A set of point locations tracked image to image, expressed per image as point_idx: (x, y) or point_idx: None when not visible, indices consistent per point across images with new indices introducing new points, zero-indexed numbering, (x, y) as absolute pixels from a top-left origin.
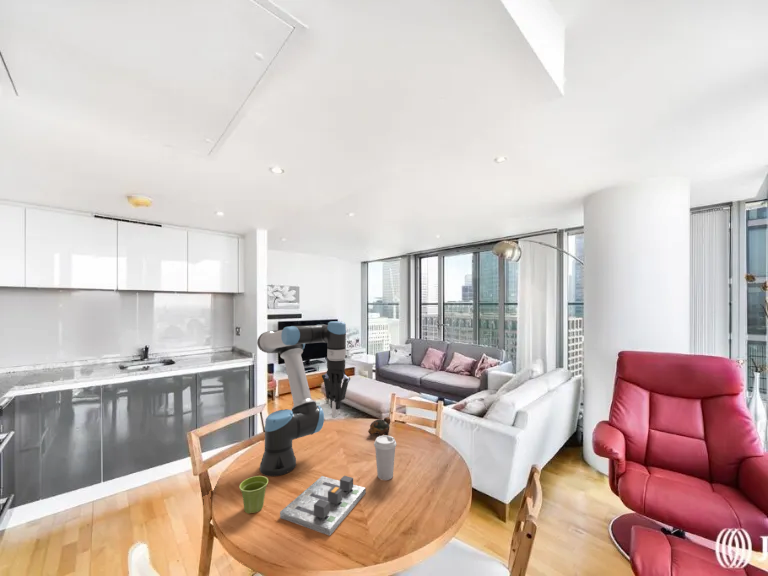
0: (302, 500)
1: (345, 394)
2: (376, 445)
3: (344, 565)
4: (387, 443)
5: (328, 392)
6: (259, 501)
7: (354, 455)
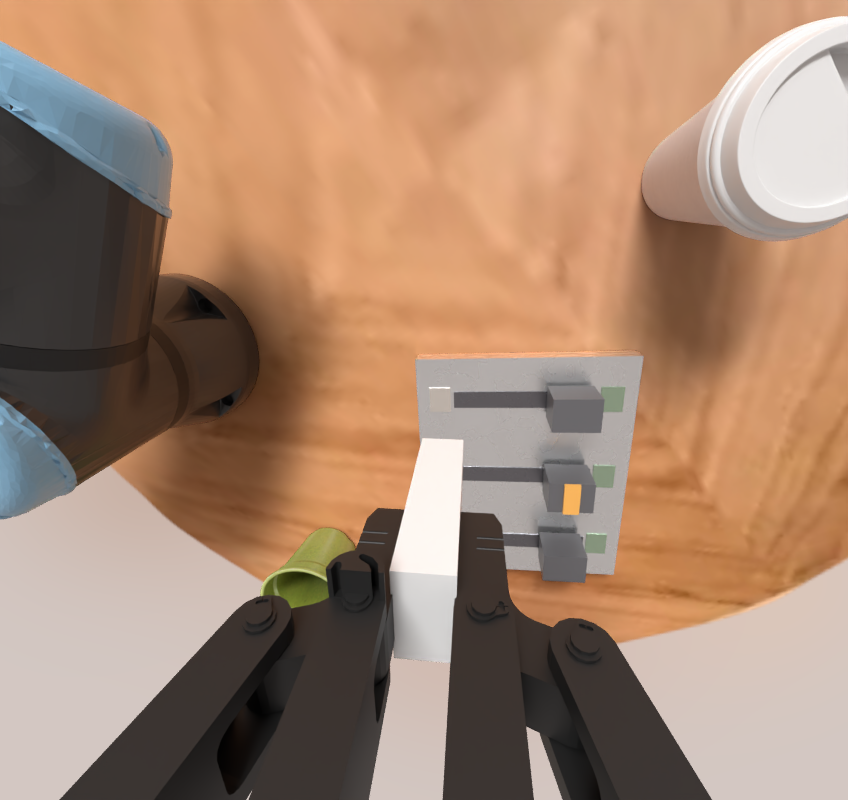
0: None
1: (679, 749)
2: (744, 226)
3: (692, 618)
4: None
5: (235, 798)
6: None
7: (418, 46)
